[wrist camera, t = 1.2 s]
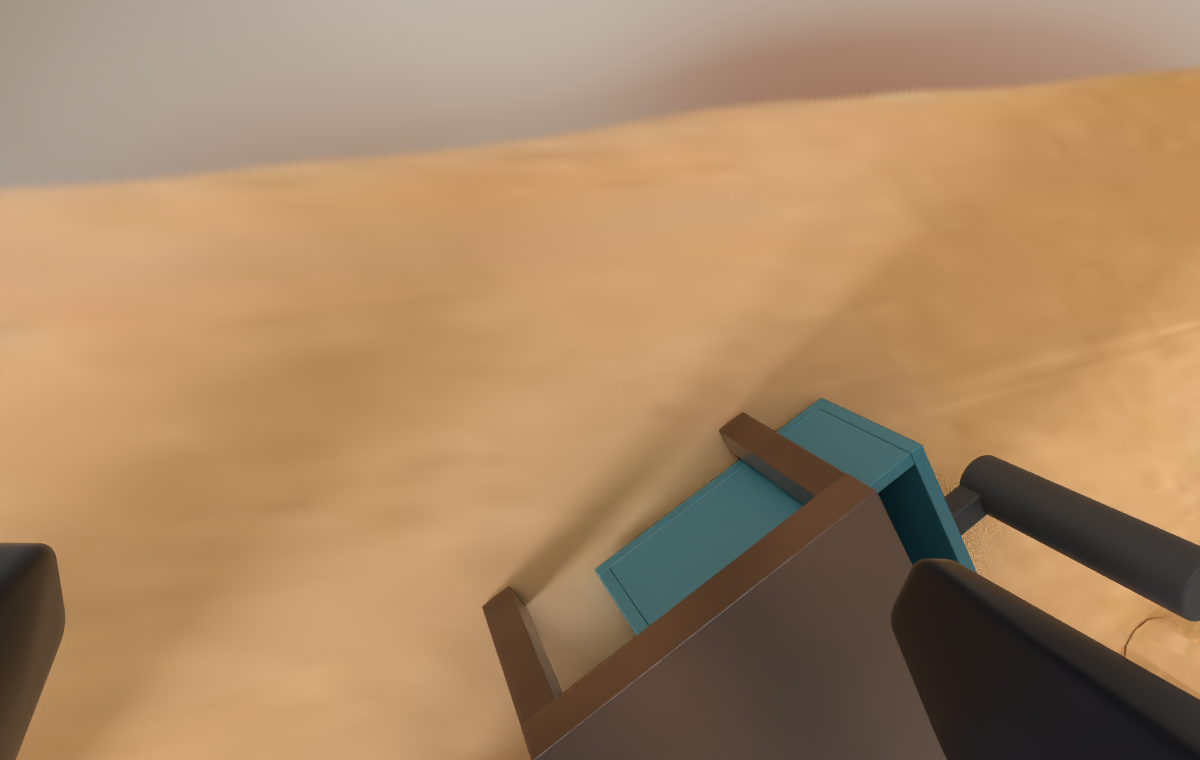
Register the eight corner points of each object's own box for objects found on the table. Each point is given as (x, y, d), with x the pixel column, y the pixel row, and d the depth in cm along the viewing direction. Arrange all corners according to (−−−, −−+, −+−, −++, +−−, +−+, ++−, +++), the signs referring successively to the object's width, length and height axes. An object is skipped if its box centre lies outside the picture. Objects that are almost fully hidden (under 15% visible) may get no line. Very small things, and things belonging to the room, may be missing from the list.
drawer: (701, 713, 30) (891, 999, 20) (593, 568, 27) (757, 824, 16) (957, 506, 32) (1256, 668, 22) (888, 345, 29) (1208, 446, 18)
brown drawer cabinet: (640, 790, 31) (727, 969, 24) (480, 605, 26) (531, 762, 19) (855, 616, 32) (995, 737, 25) (742, 410, 27) (877, 489, 20)
